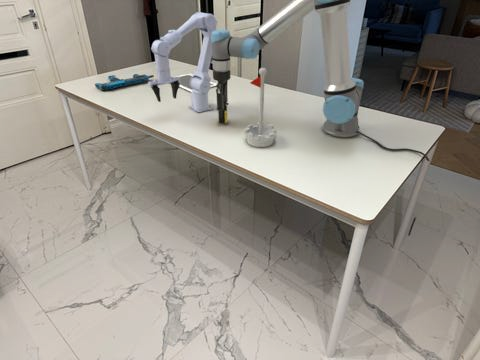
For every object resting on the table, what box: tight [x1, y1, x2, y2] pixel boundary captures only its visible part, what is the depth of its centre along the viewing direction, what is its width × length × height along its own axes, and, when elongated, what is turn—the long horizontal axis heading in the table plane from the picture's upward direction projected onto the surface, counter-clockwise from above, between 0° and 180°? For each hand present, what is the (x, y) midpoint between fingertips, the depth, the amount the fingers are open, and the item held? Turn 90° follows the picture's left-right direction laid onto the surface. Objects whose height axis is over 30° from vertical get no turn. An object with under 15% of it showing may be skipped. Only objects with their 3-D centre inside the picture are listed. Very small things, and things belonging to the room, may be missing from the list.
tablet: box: [175, 73, 218, 93], centre depth 208 cm, size 32×20×1 cm, turn 41°
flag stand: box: [244, 67, 278, 148], centre depth 133 cm, size 13×13×30 cm
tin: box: [217, 110, 229, 124], centre depth 155 cm, size 4×4×4 cm
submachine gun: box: [94, 73, 155, 91], centre depth 208 cm, size 34×4×25 cm
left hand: (167, 99), depth 156 cm, fingers open, 7 cm apart
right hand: (222, 120), depth 157 cm, fingers closed on tin, 4 cm apart
